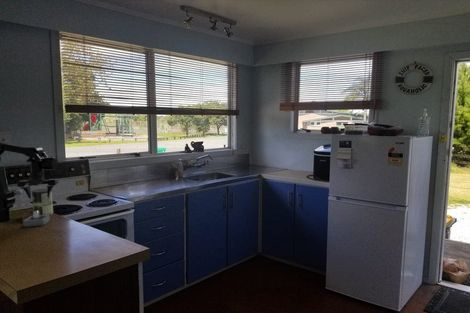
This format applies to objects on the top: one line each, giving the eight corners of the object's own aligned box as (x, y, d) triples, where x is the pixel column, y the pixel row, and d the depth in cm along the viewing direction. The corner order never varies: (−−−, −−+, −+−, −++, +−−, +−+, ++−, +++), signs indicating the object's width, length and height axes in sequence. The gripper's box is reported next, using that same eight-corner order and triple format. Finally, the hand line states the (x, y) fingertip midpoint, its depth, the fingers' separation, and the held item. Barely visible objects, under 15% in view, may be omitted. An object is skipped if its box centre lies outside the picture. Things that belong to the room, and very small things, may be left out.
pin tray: (30, 221, 186) (30, 216, 186) (49, 220, 188) (49, 215, 187) (23, 226, 177) (23, 221, 176) (43, 225, 178) (43, 219, 178)
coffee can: (32, 217, 196) (30, 192, 194) (34, 213, 205) (32, 189, 204) (53, 214, 200) (51, 190, 199) (53, 210, 209) (52, 188, 208)
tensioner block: (28, 217, 194) (28, 210, 194) (40, 216, 196) (39, 209, 195) (22, 222, 186) (21, 214, 185) (34, 221, 187) (34, 213, 186)
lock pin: (34, 222, 183) (33, 211, 183) (40, 221, 184) (39, 210, 183) (33, 223, 181) (32, 212, 180) (38, 222, 181) (37, 211, 181)
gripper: (11, 172, 177) (14, 202, 178) (51, 171, 181) (53, 200, 182) (20, 170, 188) (22, 198, 189) (57, 168, 192) (59, 196, 193)
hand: (39, 198), depth 188 cm, fingers open, 9 cm apart
